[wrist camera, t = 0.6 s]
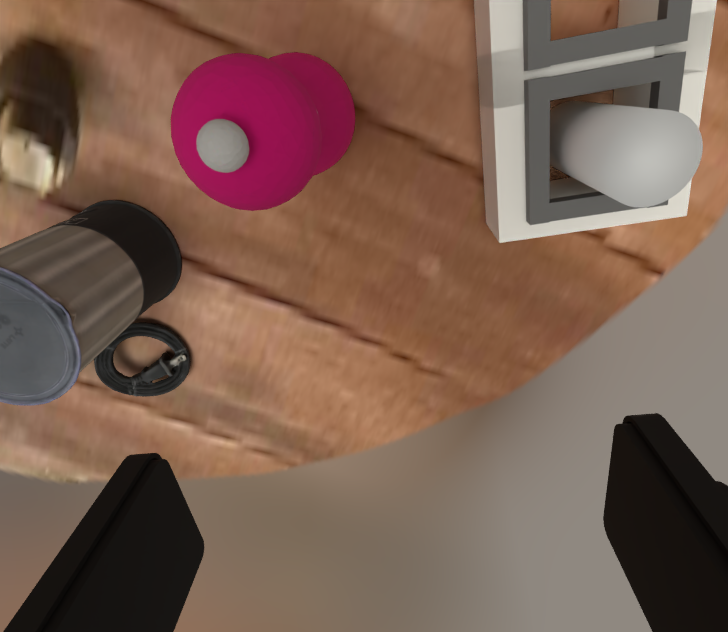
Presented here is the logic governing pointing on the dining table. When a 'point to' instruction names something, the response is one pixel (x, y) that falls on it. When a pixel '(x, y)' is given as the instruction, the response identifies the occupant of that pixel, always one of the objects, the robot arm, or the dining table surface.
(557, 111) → the socket block
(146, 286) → the milk frother
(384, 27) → the dining table surface
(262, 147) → the pepper mill
